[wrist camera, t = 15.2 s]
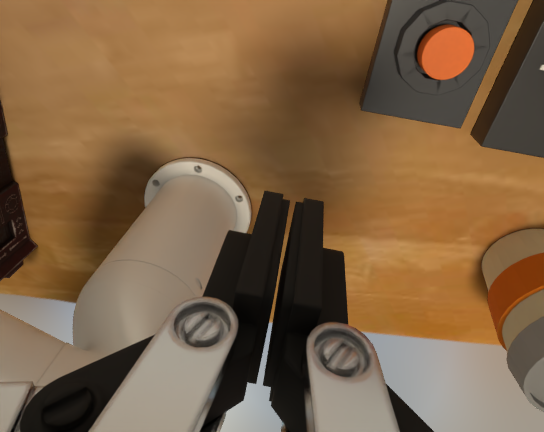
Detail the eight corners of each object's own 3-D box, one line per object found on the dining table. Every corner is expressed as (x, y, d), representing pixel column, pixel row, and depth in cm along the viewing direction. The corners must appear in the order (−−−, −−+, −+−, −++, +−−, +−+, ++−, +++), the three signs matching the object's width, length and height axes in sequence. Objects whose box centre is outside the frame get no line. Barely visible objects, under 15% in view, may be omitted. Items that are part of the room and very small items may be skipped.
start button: (455, 78, 29) (461, 83, 28) (410, 70, 29) (414, 75, 28) (475, 28, 27) (483, 31, 26) (427, 20, 27) (432, 22, 26)
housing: (453, 120, 34) (467, 135, 31) (359, 103, 35) (362, 116, 31) (519, -32, 28) (545, -33, 24) (402, -52, 28) (412, -56, 25)
